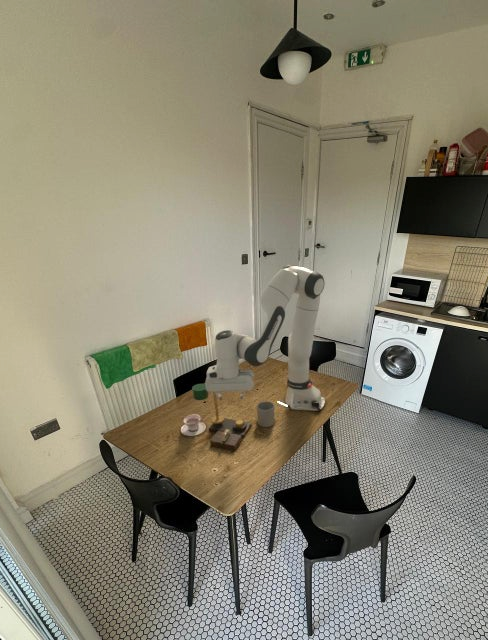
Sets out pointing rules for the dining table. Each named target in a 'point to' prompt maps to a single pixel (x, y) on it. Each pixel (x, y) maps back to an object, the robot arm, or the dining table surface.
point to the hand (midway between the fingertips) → (231, 398)
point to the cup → (265, 414)
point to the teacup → (192, 425)
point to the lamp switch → (239, 423)
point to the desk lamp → (202, 394)
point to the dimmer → (229, 444)
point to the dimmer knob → (225, 435)
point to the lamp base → (231, 427)
